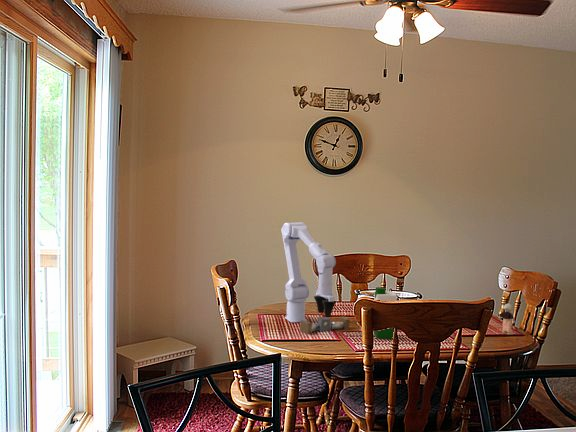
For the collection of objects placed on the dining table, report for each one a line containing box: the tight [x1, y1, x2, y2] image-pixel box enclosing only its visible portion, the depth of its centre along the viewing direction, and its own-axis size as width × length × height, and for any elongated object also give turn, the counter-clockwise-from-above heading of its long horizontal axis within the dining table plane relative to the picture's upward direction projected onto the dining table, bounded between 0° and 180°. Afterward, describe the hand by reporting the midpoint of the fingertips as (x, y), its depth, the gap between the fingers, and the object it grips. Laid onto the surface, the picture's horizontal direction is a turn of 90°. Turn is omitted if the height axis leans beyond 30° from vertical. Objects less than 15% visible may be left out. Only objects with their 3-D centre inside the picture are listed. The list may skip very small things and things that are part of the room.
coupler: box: [317, 316, 331, 332], centre depth 246 cm, size 4×4×5 cm
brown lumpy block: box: [299, 321, 320, 335], centre depth 243 cm, size 8×5×4 cm, turn 129°
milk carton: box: [373, 286, 398, 340], centre depth 237 cm, size 9×9×20 cm
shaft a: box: [330, 316, 350, 331], centre depth 248 cm, size 8×5×4 cm, turn 109°
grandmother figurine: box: [498, 303, 516, 335], centre depth 247 cm, size 8×4×13 cm, turn 46°
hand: (324, 314), depth 246 cm, fingers open, 7 cm apart
